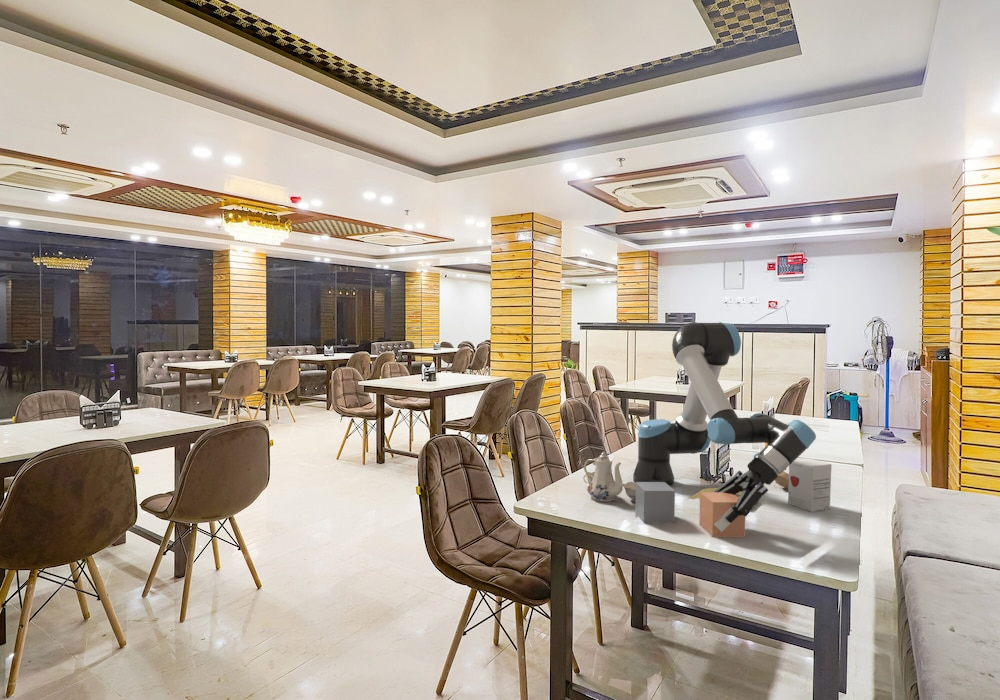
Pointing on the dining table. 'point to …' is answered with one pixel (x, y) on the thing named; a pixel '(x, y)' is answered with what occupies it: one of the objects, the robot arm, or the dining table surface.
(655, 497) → the gray block
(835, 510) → the dining table surface
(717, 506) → the orange rectangular block
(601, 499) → the chinaware
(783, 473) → the pottery oil lamp
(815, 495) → the supplement box
